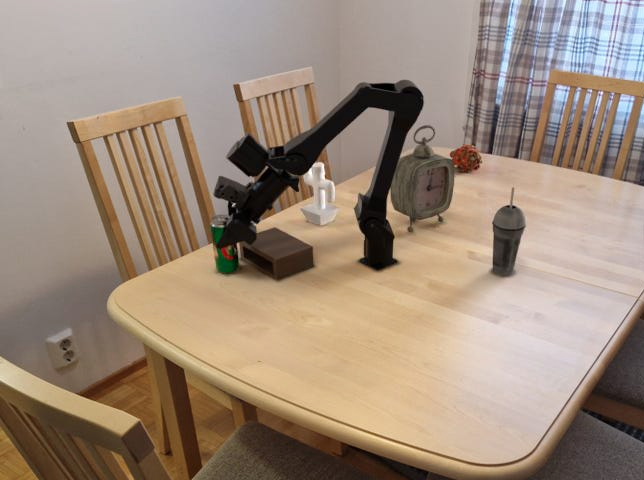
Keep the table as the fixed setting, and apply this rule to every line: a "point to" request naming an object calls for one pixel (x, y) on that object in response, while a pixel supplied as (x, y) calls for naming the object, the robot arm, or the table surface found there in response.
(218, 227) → the soda can
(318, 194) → the figurine
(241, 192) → the robot arm
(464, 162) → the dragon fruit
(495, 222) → the beverage cup
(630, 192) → the table surface
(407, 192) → the tabletop clock
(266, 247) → the shelf
